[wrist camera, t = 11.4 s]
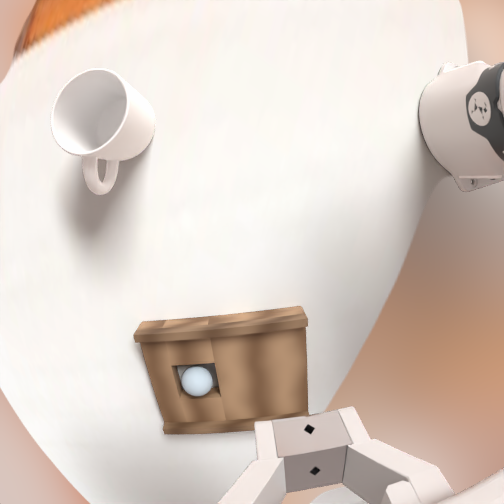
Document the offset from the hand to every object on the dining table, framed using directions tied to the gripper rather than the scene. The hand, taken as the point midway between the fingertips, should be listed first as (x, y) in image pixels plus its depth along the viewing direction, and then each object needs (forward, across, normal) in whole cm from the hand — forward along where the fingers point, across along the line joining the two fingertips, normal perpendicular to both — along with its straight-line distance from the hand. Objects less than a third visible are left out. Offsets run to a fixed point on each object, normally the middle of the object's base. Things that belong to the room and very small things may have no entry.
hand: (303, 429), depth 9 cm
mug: (+29, +14, -14) cm, 35 cm away
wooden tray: (+29, +5, +16) cm, 34 cm away
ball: (+29, +10, +16) cm, 34 cm away
